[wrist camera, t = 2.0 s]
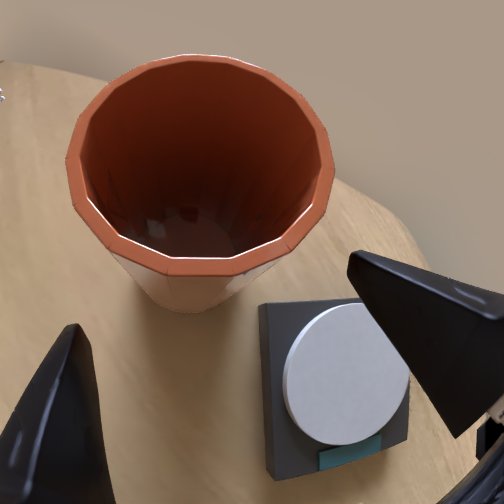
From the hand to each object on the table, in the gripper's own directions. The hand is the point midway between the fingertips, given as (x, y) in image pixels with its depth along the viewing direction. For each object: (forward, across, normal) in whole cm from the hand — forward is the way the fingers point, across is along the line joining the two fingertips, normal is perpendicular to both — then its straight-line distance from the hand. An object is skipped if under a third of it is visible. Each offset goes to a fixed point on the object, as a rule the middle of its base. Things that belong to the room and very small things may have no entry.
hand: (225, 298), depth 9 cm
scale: (+2, -8, +12) cm, 15 cm away
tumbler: (+10, 0, +5) cm, 11 cm away
